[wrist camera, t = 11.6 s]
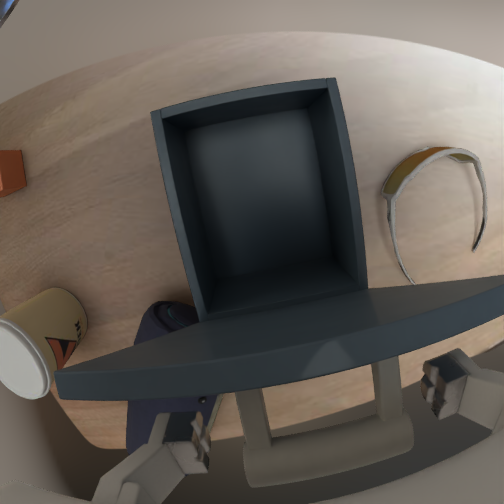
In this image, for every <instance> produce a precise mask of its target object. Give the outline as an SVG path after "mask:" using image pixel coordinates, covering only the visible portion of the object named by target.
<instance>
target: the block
mask: <svg viewBox="0 0 504 504" xmlns="http://www.w3.org/2000/svg"><path fill="white" fill-rule="evenodd" d="M25 186H27V185H26V179H25V173H24V167H23V160H22V153H21V150H0V197H4V196H6V195H9V194H11V193H13V192H15V191H17V190H19V189H21V188H23V187H25Z"/></svg>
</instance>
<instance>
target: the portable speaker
mask: <svg viewBox="0 0 504 504" xmlns="http://www.w3.org/2000/svg"><path fill="white" fill-rule="evenodd" d="M199 322H200V321H199V317H198V314H197V311H196V307H193V306H190V305H186V304H183V303H180V302H172V301H158V302H156V303H154V304H152V305H151V306H150V307H149V308H148V309H147V311H146V312H145V313H144V315H143V317H142V320H141V323H140V326H139V329H138V332H137V335H136V338H135V341H134V345H137V344H140V343H143V342H146V341H149V340H152V339H154V338H157V337H160V336H163V335H166V334H169V333H171V332H174V331H177V330H180V329H182V328H185V327H188V326H191V325H193V324H196V323H199ZM222 397H223V394H215V395H206V396H196V397H185V398H172V399H156V400H129V401H128V411H127V428H126V448H127V451H128V454H129V456H130V455H131V454H132V453H133V452H135V451H136V450H137V449H138V448H140V447H141V446H142V445H143V444H148V441H149V438H150V435H151V432H152V429H153V426H154V423H155V420H156V417H157V415H158V414H159V413H172V412H188V411H199V412H201V415H202V417H203V423H202V424H204V425H205V426H207V428H208V430H209V434H210V431H211V428H212V426H213V423H214V420H215V417H216V414H217V411H218V409H219V406H220V403H221V400H222ZM187 475H189V474H185V476H187ZM185 476H184V477H185Z"/></svg>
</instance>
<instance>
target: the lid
mask: <svg viewBox="0 0 504 504" xmlns="http://www.w3.org/2000/svg"><path fill="white" fill-rule="evenodd" d="M502 315H504V275H497V276H490V277H482V278H473V279H465V280H456V281H447V282H437V283H427V284H417V285H406V286H395V287H383V288H370V289H365V290H361V291H357V292H353V293H348V294H344V295H340V296H335V297H331V298H326V299H321V300H317V301H312V302H307V303H303V304H298V305H293V306H288V307H283V308H278V309H273V310H267V311H262V312H257V313H251V314H246V315H240V316H234V317H229V318H223V319H217V320H211V321H204V322H199V323H196V324H193V325H191V326H188V327H185V328H182V329H180V330H177V331H174V332H171V333H169V334H166V335H163V336H160V337H157V338H154V339H152V340H149V341H146V342H143V343H140V344H137V345H134V346H131V347H128V348H125V349H122V350H119V351H116V352H113V353H110V354H107V355H104V356H101V357H98V358H95V359H92V360H89V361H85V362H82V363H79V364H76V365H73V366H69V367H66V368H63V369H60V370H56V371H54V372H53V375H54V379H55V383H56V387H57V391H58V394H59V398H60V399H64V400H89V401H129V400H156V399H172V398H185V397H196V396H206V395H215V394H224V393H231V392H235V396H236V401H237V405H238V410H239V414H240V419H241V423H242V427H243V432H244V436H245V440H246V442H245V443H244V447H243V460H244V468H245V473H246V477H247V480H248V483H249V485H250V486H251V487H262V486H270V485H277V484H284V483H291V482H296V481H302V480H307V479H312V478H317V477H322V476H327V475H331V474H335V473H339V472H343V471H347V470H351V469H355V468H358V467H362V466H365V465H368V464H372V463H375V462H378V461H381V460H384V459H387V458H390V457H393V456H396V455H399V454H402V453H404V452H407V451H409V450H411V449H412V447H413V444H414V430H413V425H412V422H411V419H410V417H409V415H408V413H407V411H406V410H405V409H404V408H403V403H402V389H401V378H400V368H399V359H398V356H399V355H402V354H405V353H408V352H411V351H414V350H417V349H420V348H423V347H426V346H428V345H431V344H434V343H437V342H439V341H442V340H445V339H447V338H450V337H453V336H455V335H458V334H460V333H463V332H465V331H467V330H470V329H472V328H475V327H477V326H479V325H482V324H484V323H486V322H488V321H491V320H493V319H495V318H497V317H499V316H502ZM368 364H371V366H372V374H373V383H374V392H375V401H376V412H377V414H374V415H371V416H367V417H364V418H361V419H357V420H353V421H349V422H346V423H342V424H338V425H334V426H330V427H325V428H321V429H317V430H312V431H307V432H302V433H297V434H291V435H286V436H280V437H273V438H272V437H271V432H270V427H269V422H268V417H267V412H266V407H265V402H264V397H263V393H262V388H265V387H271V386H276V385H282V384H287V383H292V382H298V381H302V380H307V379H312V378H316V377H321V376H325V375H330V374H334V373H338V372H342V371H346V370H350V369H354V368H357V367H361V366H365V365H368Z"/></svg>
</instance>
